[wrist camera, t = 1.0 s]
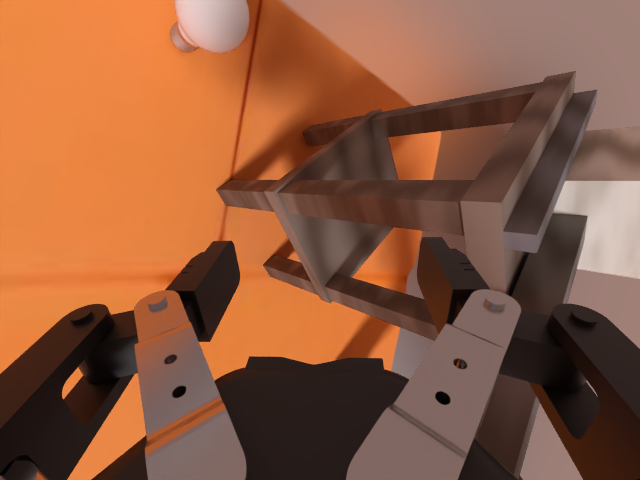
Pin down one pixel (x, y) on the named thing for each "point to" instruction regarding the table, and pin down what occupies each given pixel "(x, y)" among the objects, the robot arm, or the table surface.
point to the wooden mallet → (571, 265)
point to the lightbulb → (210, 25)
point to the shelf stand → (422, 194)
